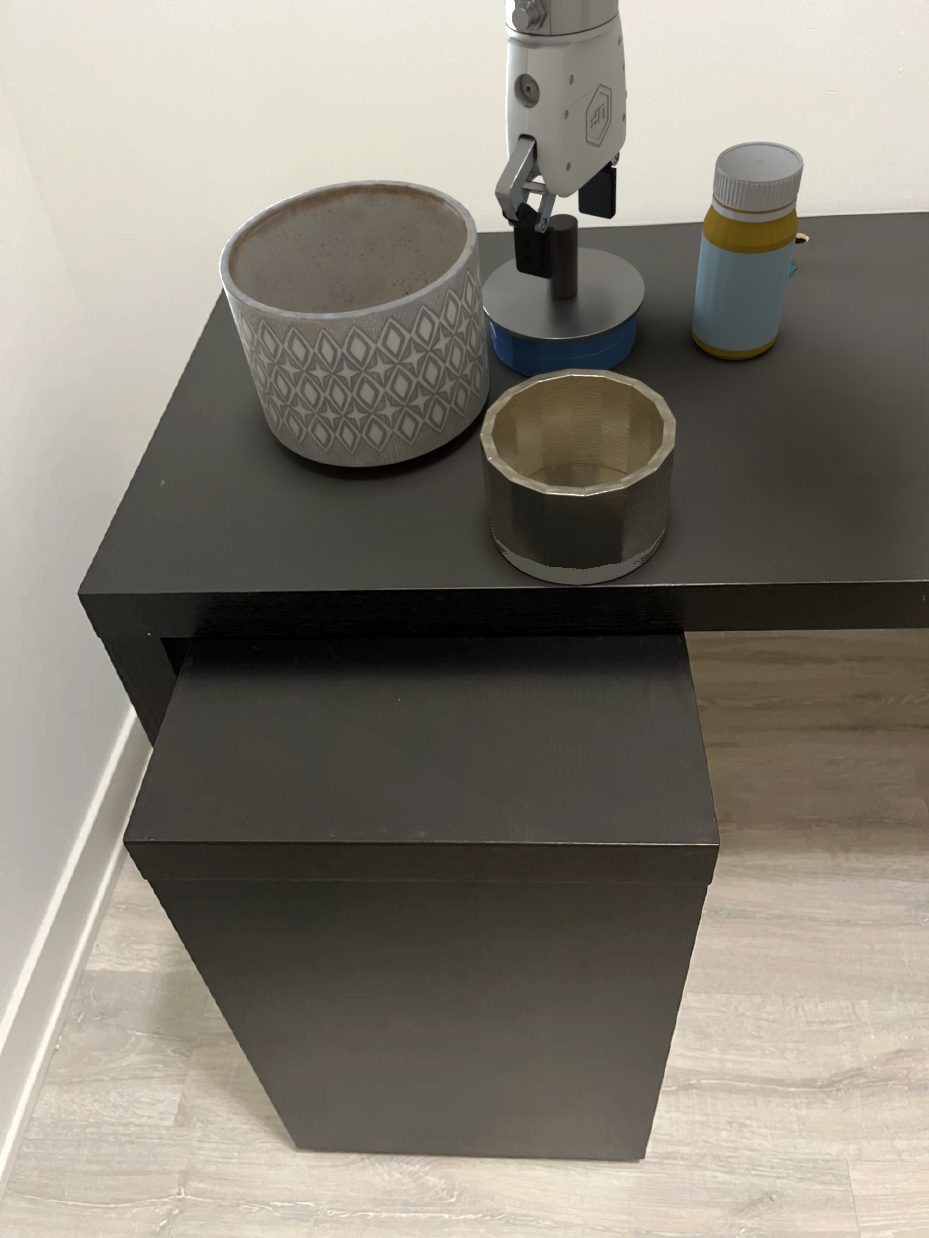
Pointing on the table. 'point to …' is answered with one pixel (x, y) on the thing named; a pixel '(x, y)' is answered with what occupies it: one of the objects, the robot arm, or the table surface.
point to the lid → (565, 293)
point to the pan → (564, 351)
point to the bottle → (746, 249)
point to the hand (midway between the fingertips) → (567, 243)
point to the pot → (578, 468)
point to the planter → (361, 319)
